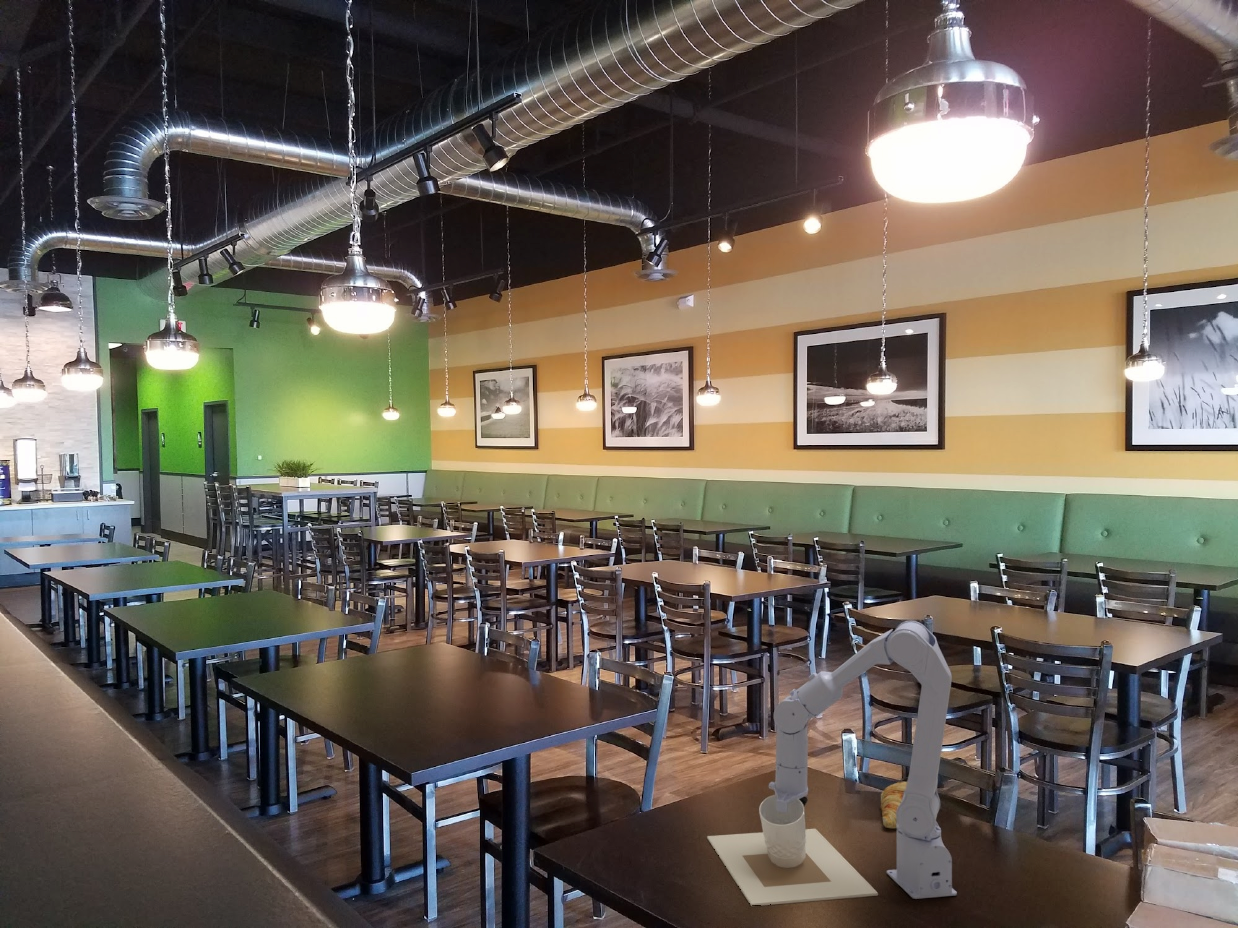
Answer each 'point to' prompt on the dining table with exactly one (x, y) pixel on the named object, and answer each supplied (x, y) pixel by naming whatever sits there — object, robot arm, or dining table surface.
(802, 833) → the white cup
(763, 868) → the placemat
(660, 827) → the dining table surface
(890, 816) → the croissant
